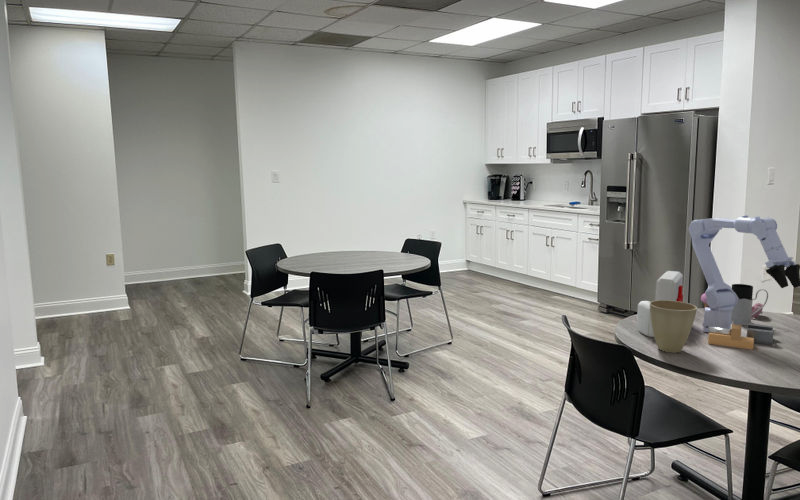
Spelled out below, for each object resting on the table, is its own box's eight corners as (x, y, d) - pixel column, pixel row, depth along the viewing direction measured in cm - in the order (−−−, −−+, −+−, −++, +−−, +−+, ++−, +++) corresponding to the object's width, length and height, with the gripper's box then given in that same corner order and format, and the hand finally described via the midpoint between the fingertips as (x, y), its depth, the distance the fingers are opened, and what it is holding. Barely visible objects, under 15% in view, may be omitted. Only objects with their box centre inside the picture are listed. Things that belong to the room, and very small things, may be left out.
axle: (708, 335, 217) (709, 327, 216) (709, 333, 219) (709, 325, 219) (740, 339, 212) (741, 331, 211) (740, 337, 214) (741, 329, 214)
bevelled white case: (675, 332, 230) (678, 280, 227) (653, 329, 234) (656, 278, 231) (683, 319, 248) (686, 271, 245) (662, 317, 252) (664, 270, 249)
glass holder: (723, 318, 248) (726, 283, 246) (760, 320, 247) (763, 284, 244) (732, 324, 240) (735, 287, 238) (770, 325, 238) (773, 288, 236)
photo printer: (634, 329, 234) (636, 298, 232) (645, 329, 234) (647, 298, 232) (647, 337, 223) (648, 305, 221) (658, 337, 224) (660, 304, 222)
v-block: (746, 341, 218) (747, 329, 217) (746, 334, 226) (747, 323, 225) (772, 344, 214) (773, 332, 213) (771, 337, 222) (772, 326, 221)
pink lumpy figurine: (755, 323, 248) (765, 309, 245) (744, 316, 250) (754, 303, 247) (756, 317, 256) (766, 304, 254) (745, 311, 258) (755, 298, 255)
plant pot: (676, 359, 199) (679, 312, 196) (637, 347, 211) (640, 303, 209) (703, 351, 207) (706, 306, 204) (664, 340, 219) (666, 298, 217)
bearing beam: (707, 343, 216) (709, 325, 215) (708, 339, 221) (710, 321, 220) (753, 349, 209) (754, 330, 208) (752, 344, 214) (754, 326, 213)
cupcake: (698, 314, 255) (700, 291, 254) (701, 310, 262) (702, 288, 261) (722, 317, 251) (724, 294, 249) (724, 313, 258) (725, 290, 256)
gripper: (773, 244, 200) (790, 282, 195) (797, 245, 208) (814, 282, 202) (753, 253, 206) (770, 290, 201) (778, 254, 213) (794, 289, 208)
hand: (791, 286), depth 202 cm, fingers open, 7 cm apart
